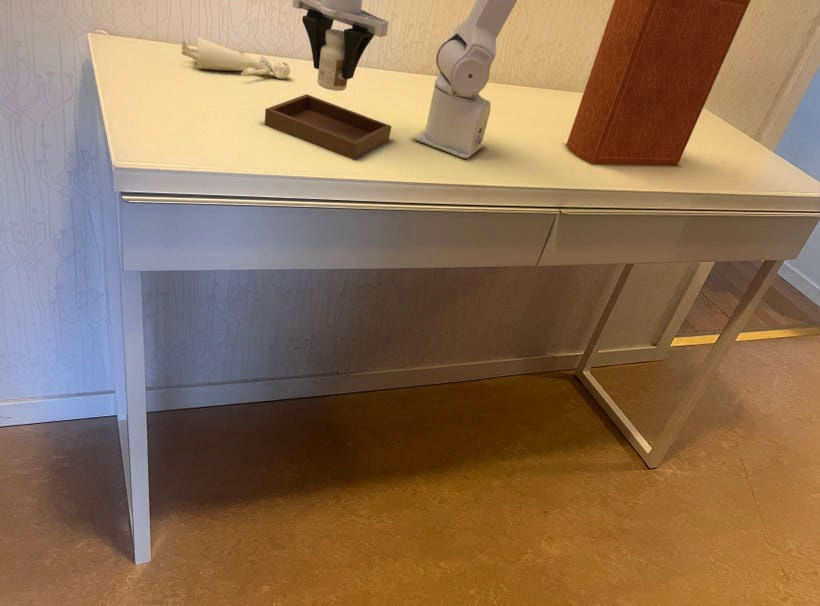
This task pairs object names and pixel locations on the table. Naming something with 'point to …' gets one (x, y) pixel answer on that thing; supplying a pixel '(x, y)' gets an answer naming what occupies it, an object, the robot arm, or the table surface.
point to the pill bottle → (332, 61)
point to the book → (652, 79)
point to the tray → (328, 125)
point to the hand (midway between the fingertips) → (333, 72)
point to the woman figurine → (231, 60)
